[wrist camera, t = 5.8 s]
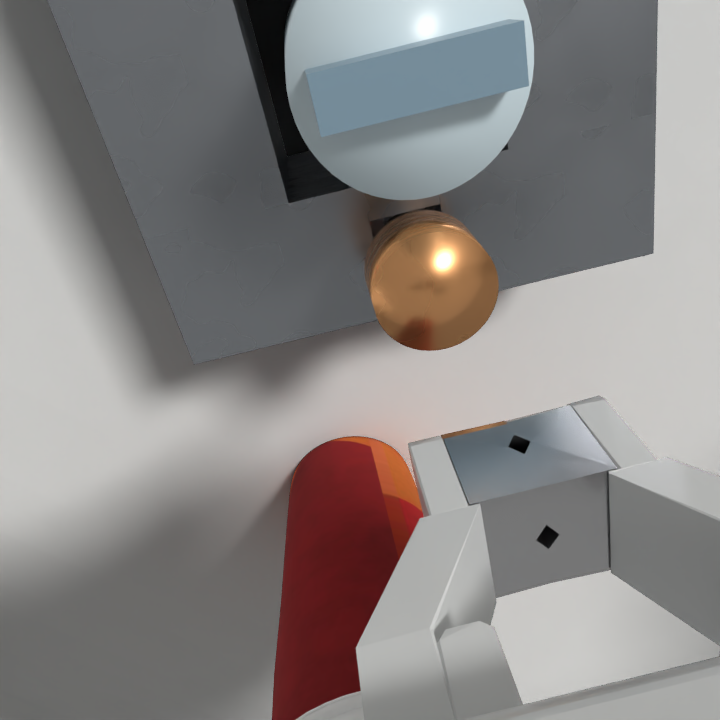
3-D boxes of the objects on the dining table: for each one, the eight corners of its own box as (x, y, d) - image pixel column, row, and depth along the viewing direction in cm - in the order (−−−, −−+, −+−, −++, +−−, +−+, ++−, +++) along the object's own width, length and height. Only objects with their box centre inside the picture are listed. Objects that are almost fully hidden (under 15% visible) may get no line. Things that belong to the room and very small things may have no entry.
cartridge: (406, -54, 20) (540, -115, 9) (429, 95, 22) (557, 179, 12) (267, -20, 20) (250, -42, 10) (303, 126, 22) (322, 237, 12)
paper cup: (251, 533, 31) (231, 884, 18) (289, 401, 27) (294, 723, 15) (405, 555, 32) (479, 888, 20) (459, 432, 29) (586, 744, 17)
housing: (549, -306, 17) (665, -439, 12) (573, 198, 24) (653, 253, 19) (45, -177, 17) (-55, -254, 12) (212, 286, 24) (193, 364, 19)
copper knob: (447, 172, 18) (491, 218, 14) (461, 269, 20) (504, 334, 16) (344, 198, 18) (360, 250, 14) (365, 292, 20) (386, 362, 16)
